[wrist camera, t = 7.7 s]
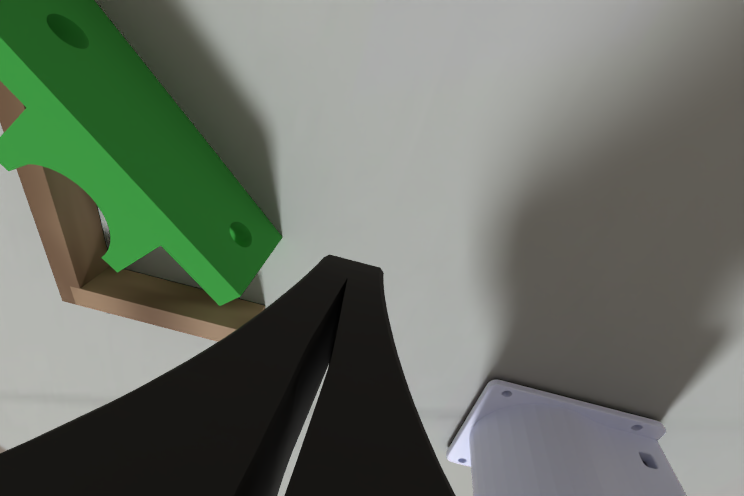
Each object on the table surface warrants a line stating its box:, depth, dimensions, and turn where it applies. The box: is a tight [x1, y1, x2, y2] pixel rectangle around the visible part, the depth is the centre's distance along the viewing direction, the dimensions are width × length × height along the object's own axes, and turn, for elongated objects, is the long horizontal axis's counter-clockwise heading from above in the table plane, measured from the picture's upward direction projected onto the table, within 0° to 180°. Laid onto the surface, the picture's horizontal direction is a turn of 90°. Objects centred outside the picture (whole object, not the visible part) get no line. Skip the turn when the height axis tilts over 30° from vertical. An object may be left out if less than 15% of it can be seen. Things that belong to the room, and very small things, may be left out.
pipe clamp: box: [0, 0, 282, 306], centre depth 14 cm, size 11×4×5 cm, turn 32°
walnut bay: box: [0, 81, 265, 342], centre depth 14 cm, size 10×19×2 cm, turn 169°
